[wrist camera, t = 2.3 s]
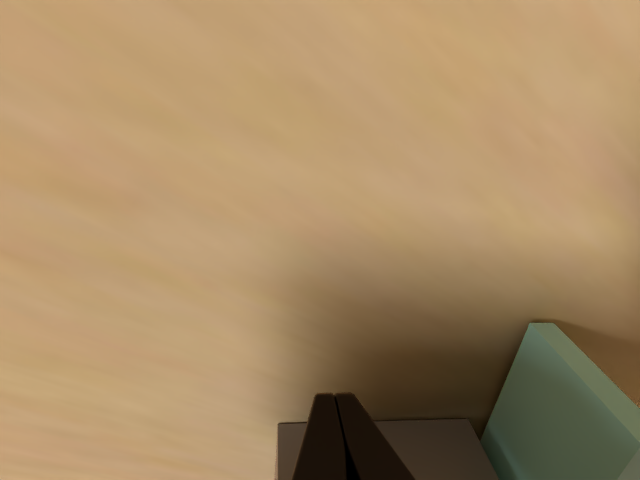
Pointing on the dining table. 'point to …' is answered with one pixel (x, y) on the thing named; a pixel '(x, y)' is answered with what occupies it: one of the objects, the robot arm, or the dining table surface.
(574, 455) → the side door
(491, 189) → the dining table surface
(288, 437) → the camera body
